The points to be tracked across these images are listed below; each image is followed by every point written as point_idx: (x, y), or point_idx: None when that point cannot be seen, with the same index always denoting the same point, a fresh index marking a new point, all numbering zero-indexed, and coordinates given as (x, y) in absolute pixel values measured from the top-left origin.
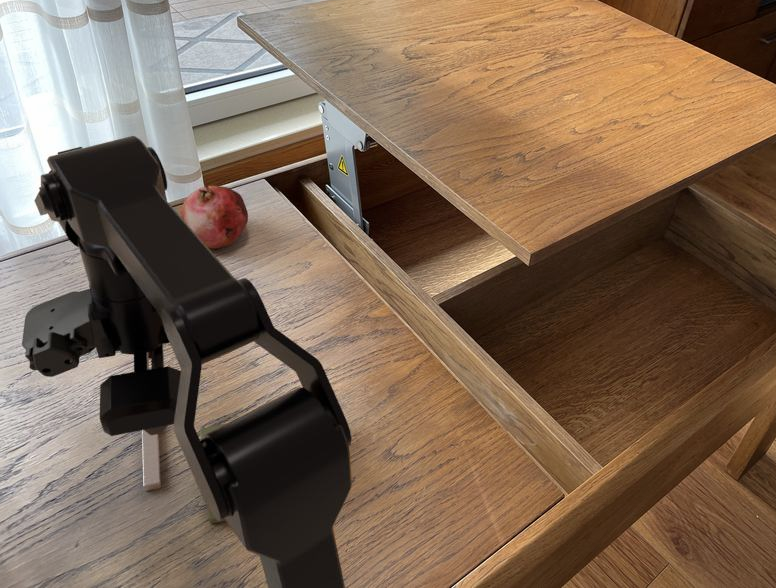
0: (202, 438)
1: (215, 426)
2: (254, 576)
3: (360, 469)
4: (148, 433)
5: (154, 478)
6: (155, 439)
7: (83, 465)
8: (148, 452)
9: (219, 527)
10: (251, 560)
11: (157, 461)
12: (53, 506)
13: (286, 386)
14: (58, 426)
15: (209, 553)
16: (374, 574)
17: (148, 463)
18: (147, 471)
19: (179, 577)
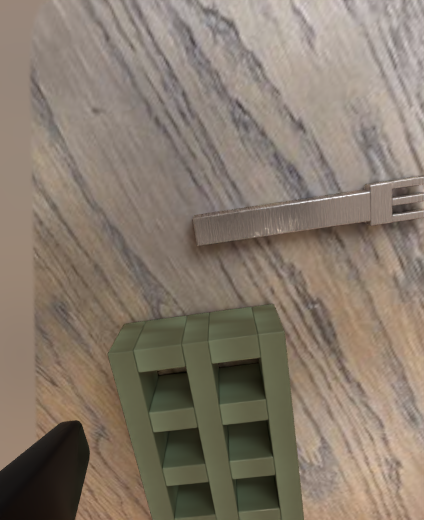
0: (259, 337)
1: (285, 358)
2: (41, 383)
3: None
4: (42, 438)
5: (207, 235)
6: (295, 228)
7: (265, 88)
8: (267, 218)
9: None
10: (64, 379)
11: (243, 237)
12: (177, 45)
13: (377, 426)
14: (377, 8)
15: (76, 324)
16: None
17: (241, 221)
18: (223, 221)
19: (38, 285)
